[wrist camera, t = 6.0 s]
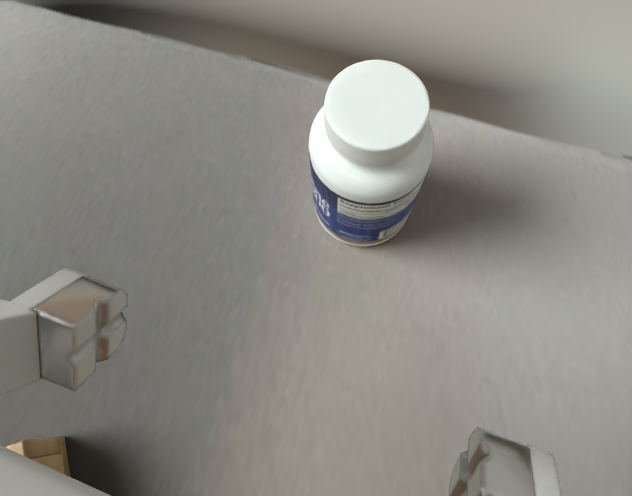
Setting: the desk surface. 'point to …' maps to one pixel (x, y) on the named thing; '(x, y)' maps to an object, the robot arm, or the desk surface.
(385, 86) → the pill bottle
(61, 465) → the wooden compartment tray
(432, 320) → the desk surface
